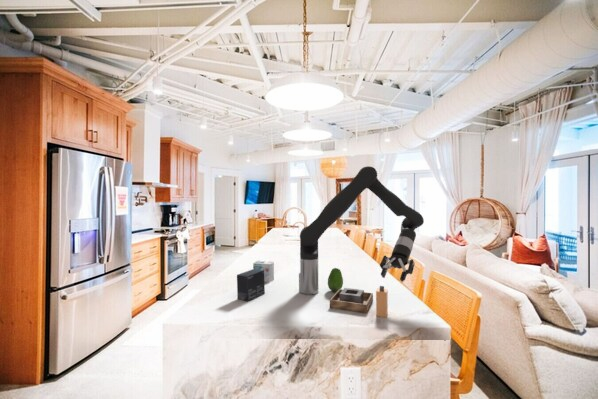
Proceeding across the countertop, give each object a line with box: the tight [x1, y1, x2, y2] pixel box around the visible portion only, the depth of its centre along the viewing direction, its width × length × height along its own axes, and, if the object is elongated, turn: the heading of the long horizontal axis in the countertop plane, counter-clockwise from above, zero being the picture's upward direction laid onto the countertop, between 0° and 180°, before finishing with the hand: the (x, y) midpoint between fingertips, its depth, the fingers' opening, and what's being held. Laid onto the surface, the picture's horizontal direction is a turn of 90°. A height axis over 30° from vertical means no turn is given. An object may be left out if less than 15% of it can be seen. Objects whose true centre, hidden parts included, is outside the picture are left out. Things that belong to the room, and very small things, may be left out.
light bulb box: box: [252, 260, 275, 284], centre depth 170 cm, size 11×7×11 cm, turn 73°
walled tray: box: [329, 287, 374, 314], centre depth 132 cm, size 16×16×6 cm
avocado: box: [327, 267, 344, 293], centre depth 150 cm, size 8×8×12 cm
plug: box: [375, 285, 389, 318], centre depth 120 cm, size 4×4×12 cm
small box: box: [236, 268, 266, 302], centre depth 143 cm, size 13×7×12 cm, turn 149°
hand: (391, 278), depth 127 cm, fingers open, 8 cm apart
